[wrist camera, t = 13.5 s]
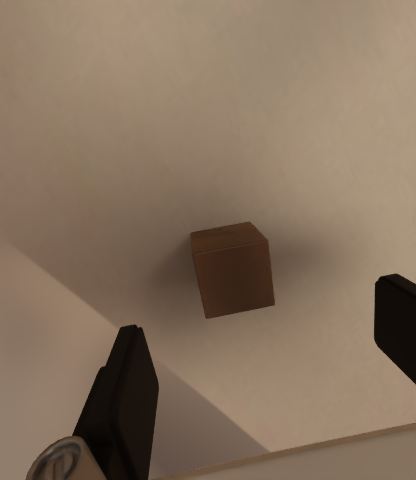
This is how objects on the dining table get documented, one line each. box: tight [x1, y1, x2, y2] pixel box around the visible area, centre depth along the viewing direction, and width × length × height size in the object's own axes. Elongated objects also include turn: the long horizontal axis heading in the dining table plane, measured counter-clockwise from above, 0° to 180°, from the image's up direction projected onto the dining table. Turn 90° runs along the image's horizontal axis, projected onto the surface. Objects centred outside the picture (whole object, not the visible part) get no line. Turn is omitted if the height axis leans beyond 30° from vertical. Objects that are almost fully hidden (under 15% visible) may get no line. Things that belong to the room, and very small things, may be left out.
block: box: [191, 222, 275, 319], centre depth 16 cm, size 4×4×4 cm
